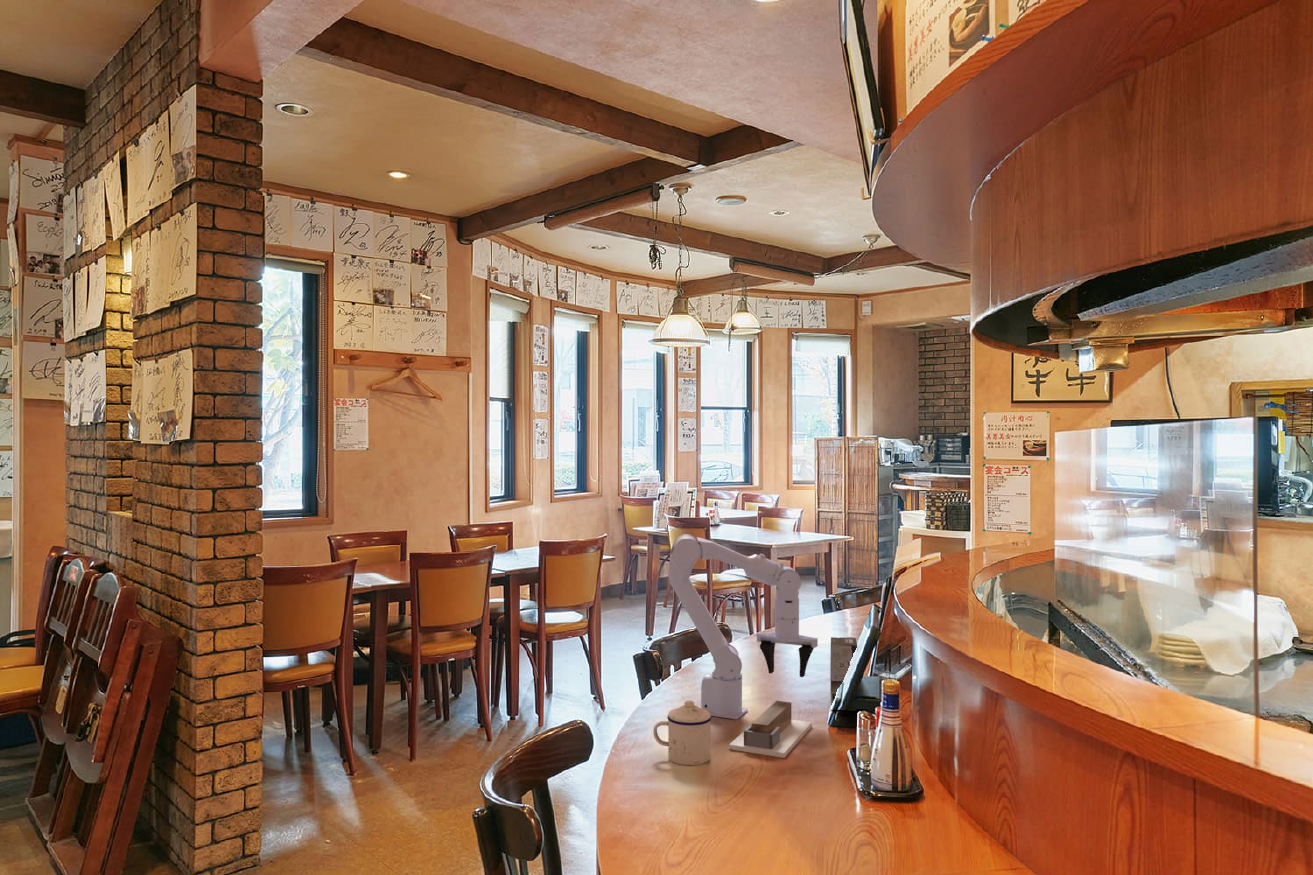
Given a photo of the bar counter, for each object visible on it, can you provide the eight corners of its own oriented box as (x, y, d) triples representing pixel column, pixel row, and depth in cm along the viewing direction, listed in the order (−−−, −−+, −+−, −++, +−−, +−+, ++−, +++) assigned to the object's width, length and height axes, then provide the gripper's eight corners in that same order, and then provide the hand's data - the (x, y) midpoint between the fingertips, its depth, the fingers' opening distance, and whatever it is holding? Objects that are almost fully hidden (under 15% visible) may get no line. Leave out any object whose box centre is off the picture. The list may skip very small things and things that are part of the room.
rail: (751, 744, 187) (751, 722, 187) (776, 720, 203) (776, 700, 203) (767, 746, 185) (767, 725, 185) (791, 722, 202) (791, 702, 202)
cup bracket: (729, 749, 187) (729, 730, 187) (761, 719, 207) (761, 702, 207) (784, 757, 182) (784, 738, 182) (811, 726, 202) (811, 709, 202)
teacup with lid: (713, 751, 185) (713, 696, 185) (709, 767, 176) (709, 709, 176) (656, 748, 187) (656, 693, 187) (650, 764, 178) (650, 706, 178)
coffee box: (857, 712, 212) (857, 645, 213) (830, 710, 214) (830, 644, 214) (856, 701, 221) (856, 637, 221) (830, 699, 223) (830, 635, 223)
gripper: (752, 617, 211) (752, 674, 211) (812, 623, 205) (812, 681, 205) (761, 612, 217) (761, 667, 217) (819, 617, 211) (819, 674, 211)
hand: (786, 674), depth 211 cm, fingers open, 7 cm apart
